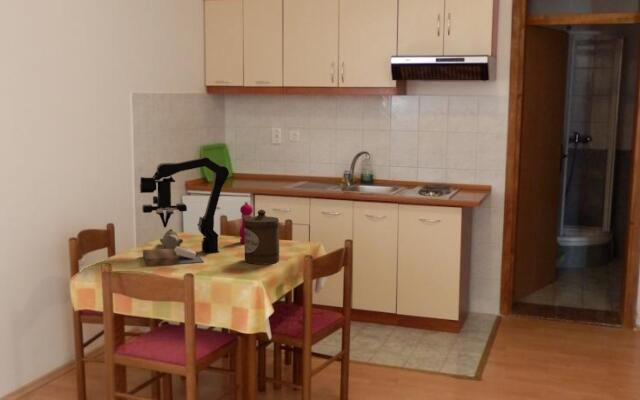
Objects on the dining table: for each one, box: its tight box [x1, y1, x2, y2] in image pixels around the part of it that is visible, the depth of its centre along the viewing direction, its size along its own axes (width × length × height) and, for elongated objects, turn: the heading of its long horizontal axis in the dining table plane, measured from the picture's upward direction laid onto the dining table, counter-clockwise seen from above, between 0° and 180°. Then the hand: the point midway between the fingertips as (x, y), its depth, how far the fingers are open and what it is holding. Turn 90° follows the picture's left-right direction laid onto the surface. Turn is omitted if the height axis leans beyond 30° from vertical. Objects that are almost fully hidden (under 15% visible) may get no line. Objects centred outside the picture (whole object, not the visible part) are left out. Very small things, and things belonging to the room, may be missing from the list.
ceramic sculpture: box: [159, 229, 184, 250], centre depth 340 cm, size 11×9×15 cm
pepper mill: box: [238, 201, 254, 245], centre depth 351 cm, size 7×7×20 cm
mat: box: [178, 253, 205, 265], centre depth 316 cm, size 10×16×1 cm, turn 18°
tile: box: [174, 245, 197, 259], centre depth 316 cm, size 8×6×2 cm
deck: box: [142, 248, 180, 267], centre depth 313 cm, size 13×18×3 cm
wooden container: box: [243, 209, 280, 265], centre depth 313 cm, size 15×15×22 cm
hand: (165, 227), depth 324 cm, fingers closed
